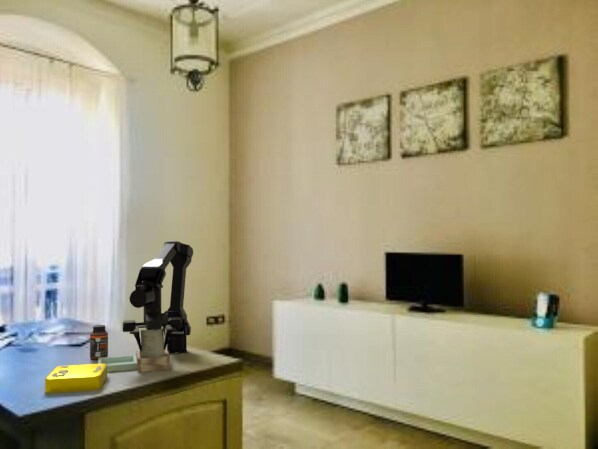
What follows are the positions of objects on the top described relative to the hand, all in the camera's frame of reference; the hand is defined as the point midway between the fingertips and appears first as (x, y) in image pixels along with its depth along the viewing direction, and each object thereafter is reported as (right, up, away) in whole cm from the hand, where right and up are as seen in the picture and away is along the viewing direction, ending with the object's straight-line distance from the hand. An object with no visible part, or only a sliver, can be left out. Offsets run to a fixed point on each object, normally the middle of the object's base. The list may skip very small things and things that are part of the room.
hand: (152, 350), depth 175 cm
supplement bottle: (-22, -6, +11) cm, 25 cm away
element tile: (-17, -6, -19) cm, 26 cm away
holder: (0, -5, 0) cm, 5 cm away
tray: (-12, -5, 0) cm, 13 cm away
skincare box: (0, -5, 0) cm, 5 cm away
